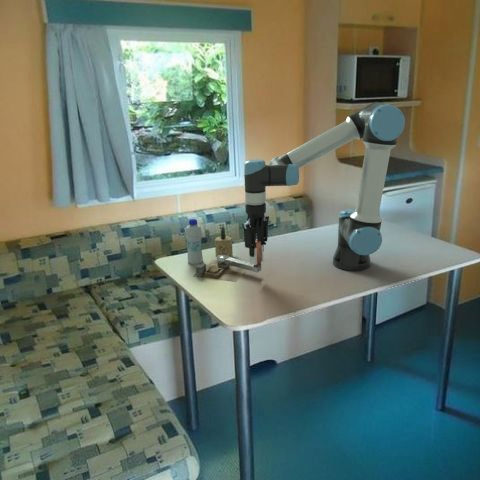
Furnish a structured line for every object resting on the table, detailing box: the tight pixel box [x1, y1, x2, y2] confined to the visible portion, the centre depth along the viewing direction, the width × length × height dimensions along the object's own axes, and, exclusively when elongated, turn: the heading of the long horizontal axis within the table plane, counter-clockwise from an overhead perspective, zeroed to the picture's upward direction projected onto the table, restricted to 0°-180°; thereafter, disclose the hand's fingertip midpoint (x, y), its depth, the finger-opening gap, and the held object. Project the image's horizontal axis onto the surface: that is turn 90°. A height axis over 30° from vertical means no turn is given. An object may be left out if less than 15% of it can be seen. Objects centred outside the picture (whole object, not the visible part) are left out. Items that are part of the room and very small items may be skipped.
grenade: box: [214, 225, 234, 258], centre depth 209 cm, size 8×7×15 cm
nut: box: [209, 264, 219, 273], centre depth 191 cm, size 4×4×4 cm
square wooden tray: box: [192, 258, 247, 283], centre depth 195 cm, size 18×19×6 cm
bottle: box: [185, 218, 204, 265], centre depth 202 cm, size 7×7×20 cm
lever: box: [216, 239, 262, 273], centre depth 190 cm, size 21×5×12 cm, turn 52°
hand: (256, 262), depth 185 cm, fingers closed on lever, 3 cm apart
